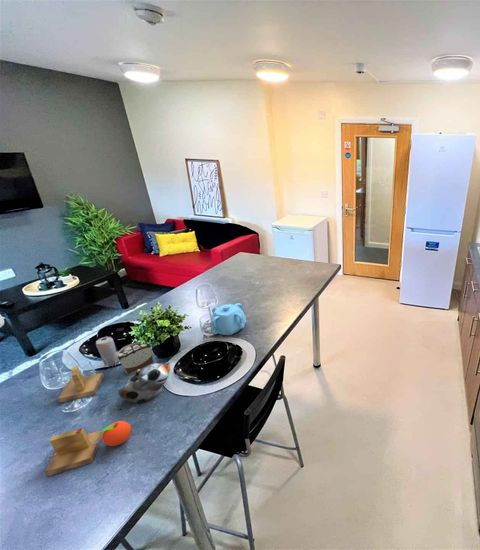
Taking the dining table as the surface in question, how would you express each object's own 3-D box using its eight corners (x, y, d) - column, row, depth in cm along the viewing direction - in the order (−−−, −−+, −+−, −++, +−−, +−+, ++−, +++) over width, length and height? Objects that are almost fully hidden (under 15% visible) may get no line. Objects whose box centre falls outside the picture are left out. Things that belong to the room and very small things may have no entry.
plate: (57, 403, 104) (55, 398, 103) (69, 383, 112) (67, 379, 111) (97, 393, 108) (95, 389, 107) (105, 375, 116) (104, 371, 115)
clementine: (100, 457, 87) (91, 441, 84) (104, 438, 92) (96, 423, 89) (133, 444, 91) (126, 429, 88) (135, 427, 96) (128, 412, 93)
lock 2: (78, 380, 111) (71, 366, 108) (83, 378, 112) (77, 365, 109) (78, 391, 106) (71, 377, 104) (84, 389, 107) (77, 375, 105)
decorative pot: (245, 336, 144) (242, 312, 138) (210, 340, 139) (205, 316, 134) (247, 318, 158) (244, 296, 152) (215, 322, 153) (211, 300, 148)
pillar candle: (120, 357, 126) (111, 334, 122) (122, 363, 123) (113, 340, 118) (104, 362, 123) (94, 339, 118) (105, 369, 120) (95, 345, 115)
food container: (152, 355, 128) (145, 337, 124) (157, 361, 125) (151, 342, 121) (117, 370, 119) (110, 351, 115) (123, 377, 116) (115, 357, 112)
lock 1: (58, 456, 85) (49, 440, 82) (60, 451, 86) (51, 435, 83) (89, 447, 88) (80, 432, 85) (90, 442, 89) (83, 427, 86)
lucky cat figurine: (146, 375, 117) (158, 347, 115) (170, 390, 117) (183, 362, 114) (109, 395, 102) (122, 363, 100) (137, 412, 102) (151, 381, 100)
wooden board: (44, 477, 81) (41, 472, 80) (60, 446, 90) (57, 441, 89) (95, 461, 86) (92, 456, 85) (106, 433, 94) (103, 428, 93)
